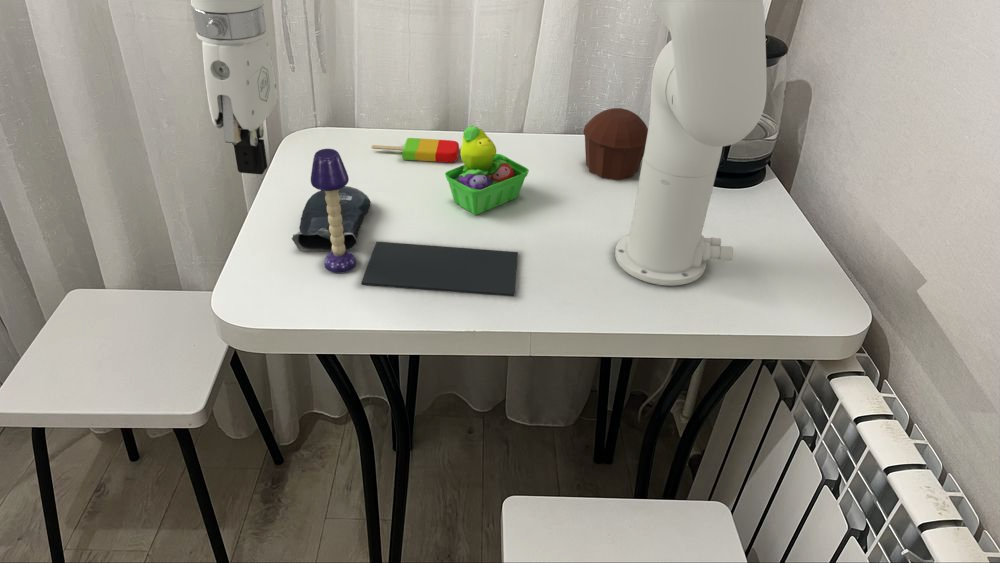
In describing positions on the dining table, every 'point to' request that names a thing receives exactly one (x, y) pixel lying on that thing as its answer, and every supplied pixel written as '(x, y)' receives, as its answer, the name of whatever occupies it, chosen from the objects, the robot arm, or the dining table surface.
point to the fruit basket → (484, 174)
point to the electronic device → (317, 225)
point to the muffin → (615, 143)
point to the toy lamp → (333, 206)
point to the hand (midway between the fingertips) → (253, 170)
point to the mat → (442, 268)
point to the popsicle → (426, 150)
